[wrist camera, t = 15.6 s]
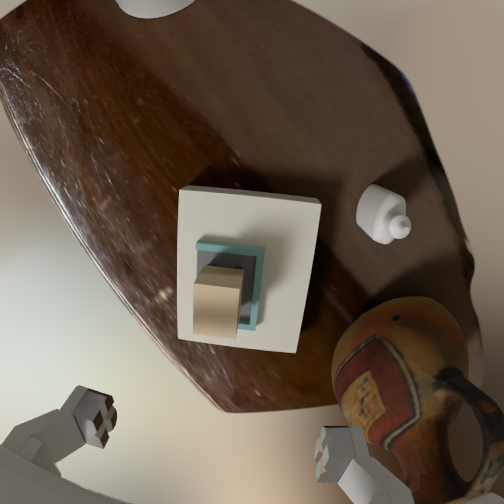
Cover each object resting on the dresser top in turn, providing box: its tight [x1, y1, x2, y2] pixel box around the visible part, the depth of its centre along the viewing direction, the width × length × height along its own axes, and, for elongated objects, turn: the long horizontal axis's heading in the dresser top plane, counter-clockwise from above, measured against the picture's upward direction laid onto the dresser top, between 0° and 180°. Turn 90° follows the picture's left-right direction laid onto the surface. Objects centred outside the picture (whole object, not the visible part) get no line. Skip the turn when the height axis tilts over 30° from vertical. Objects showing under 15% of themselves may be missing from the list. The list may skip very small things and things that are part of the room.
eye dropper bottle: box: [356, 184, 411, 244], centre depth 33 cm, size 4×6×12 cm
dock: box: [177, 185, 322, 353], centre depth 39 cm, size 20×16×5 cm
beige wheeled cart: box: [193, 263, 244, 339], centre depth 35 cm, size 6×5×7 cm
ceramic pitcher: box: [332, 296, 504, 504], centre depth 30 cm, size 20×20×30 cm
